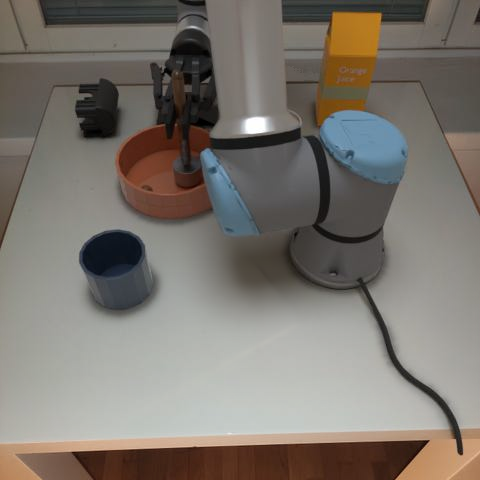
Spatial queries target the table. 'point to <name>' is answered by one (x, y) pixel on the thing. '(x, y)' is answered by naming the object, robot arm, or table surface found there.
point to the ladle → (185, 165)
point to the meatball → (147, 188)
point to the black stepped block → (203, 119)
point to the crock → (116, 269)
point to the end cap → (98, 108)
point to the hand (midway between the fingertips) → (176, 131)
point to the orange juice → (347, 62)
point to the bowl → (161, 173)
